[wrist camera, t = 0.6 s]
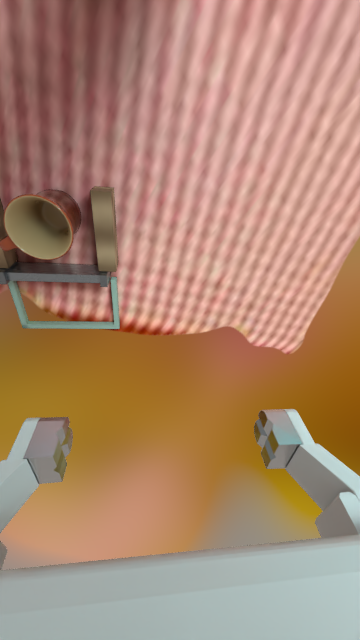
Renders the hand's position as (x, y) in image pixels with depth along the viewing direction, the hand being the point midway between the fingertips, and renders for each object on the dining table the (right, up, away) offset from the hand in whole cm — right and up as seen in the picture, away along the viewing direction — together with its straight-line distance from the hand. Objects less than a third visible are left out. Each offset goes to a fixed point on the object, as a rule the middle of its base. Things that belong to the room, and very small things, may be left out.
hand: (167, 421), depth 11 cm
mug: (-21, +22, +33) cm, 45 cm away
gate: (-22, +14, +38) cm, 46 cm away
